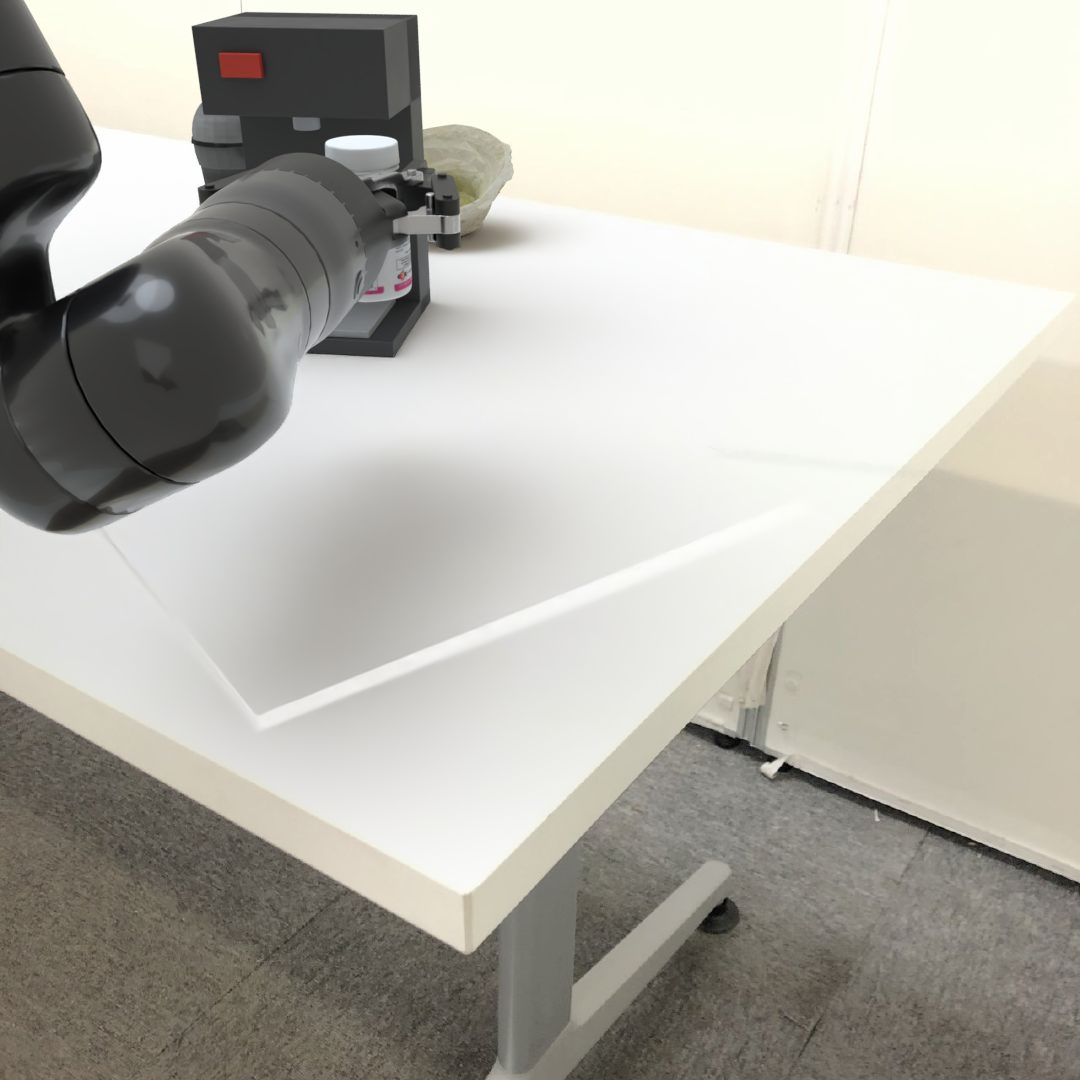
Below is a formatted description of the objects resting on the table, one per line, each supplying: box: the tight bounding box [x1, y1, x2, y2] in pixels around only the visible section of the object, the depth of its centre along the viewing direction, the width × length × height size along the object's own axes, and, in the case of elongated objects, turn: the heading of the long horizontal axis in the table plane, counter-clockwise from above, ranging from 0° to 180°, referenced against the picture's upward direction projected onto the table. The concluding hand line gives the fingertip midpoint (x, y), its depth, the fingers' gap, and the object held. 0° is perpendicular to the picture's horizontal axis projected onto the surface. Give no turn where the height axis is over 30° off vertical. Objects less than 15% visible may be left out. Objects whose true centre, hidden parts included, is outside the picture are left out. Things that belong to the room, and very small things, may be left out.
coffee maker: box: [191, 11, 431, 358], centre depth 88 cm, size 14×14×23 cm
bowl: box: [423, 123, 515, 237], centre depth 116 cm, size 15×14×10 cm
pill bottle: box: [325, 135, 412, 302], centre depth 64 cm, size 5×5×8 cm
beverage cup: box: [190, 102, 246, 185], centre depth 104 cm, size 7×7×20 cm
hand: (375, 176), depth 65 cm, fingers closed on pill bottle, 4 cm apart
